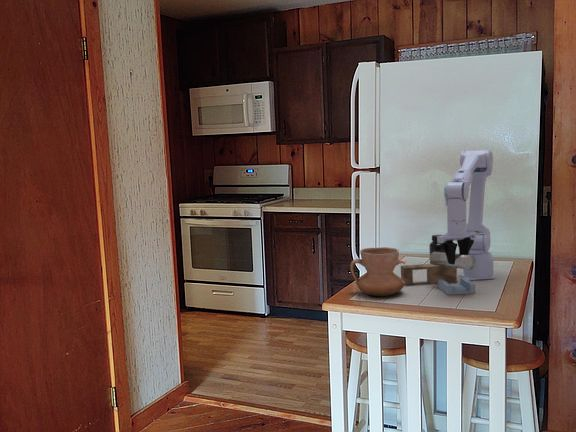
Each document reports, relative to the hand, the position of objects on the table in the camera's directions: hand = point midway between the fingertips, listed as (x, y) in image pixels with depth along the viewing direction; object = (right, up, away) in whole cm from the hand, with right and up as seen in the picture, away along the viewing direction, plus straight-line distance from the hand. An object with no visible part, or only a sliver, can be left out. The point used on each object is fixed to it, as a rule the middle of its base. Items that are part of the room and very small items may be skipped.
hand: (457, 262), depth 173 cm
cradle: (0, -9, +3) cm, 9 cm away
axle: (-1, +1, +2) cm, 3 cm away
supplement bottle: (+4, -5, +37) cm, 38 cm away
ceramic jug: (-24, -10, +4) cm, 26 cm away
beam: (-5, -8, +14) cm, 17 cm away
